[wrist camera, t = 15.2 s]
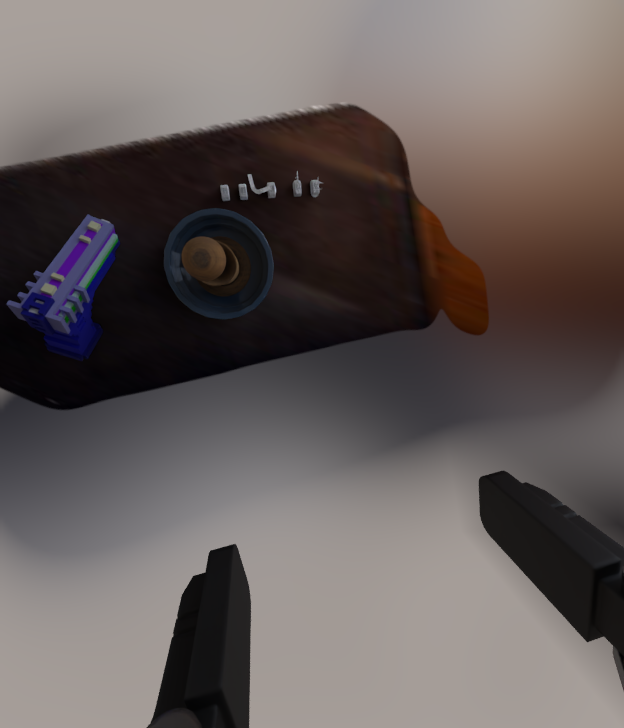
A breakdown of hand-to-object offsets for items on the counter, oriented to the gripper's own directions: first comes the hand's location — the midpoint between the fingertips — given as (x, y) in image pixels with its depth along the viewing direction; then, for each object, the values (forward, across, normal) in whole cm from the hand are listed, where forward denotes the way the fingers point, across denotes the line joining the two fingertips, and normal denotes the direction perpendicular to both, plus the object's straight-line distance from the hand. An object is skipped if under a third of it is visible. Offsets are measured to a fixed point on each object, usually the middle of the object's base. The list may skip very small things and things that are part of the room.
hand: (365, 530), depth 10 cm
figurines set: (+34, -3, -18) cm, 39 cm away
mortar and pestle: (+34, +5, -10) cm, 36 cm away
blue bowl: (+34, +5, -10) cm, 36 cm away
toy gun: (+34, +20, -10) cm, 41 cm away
